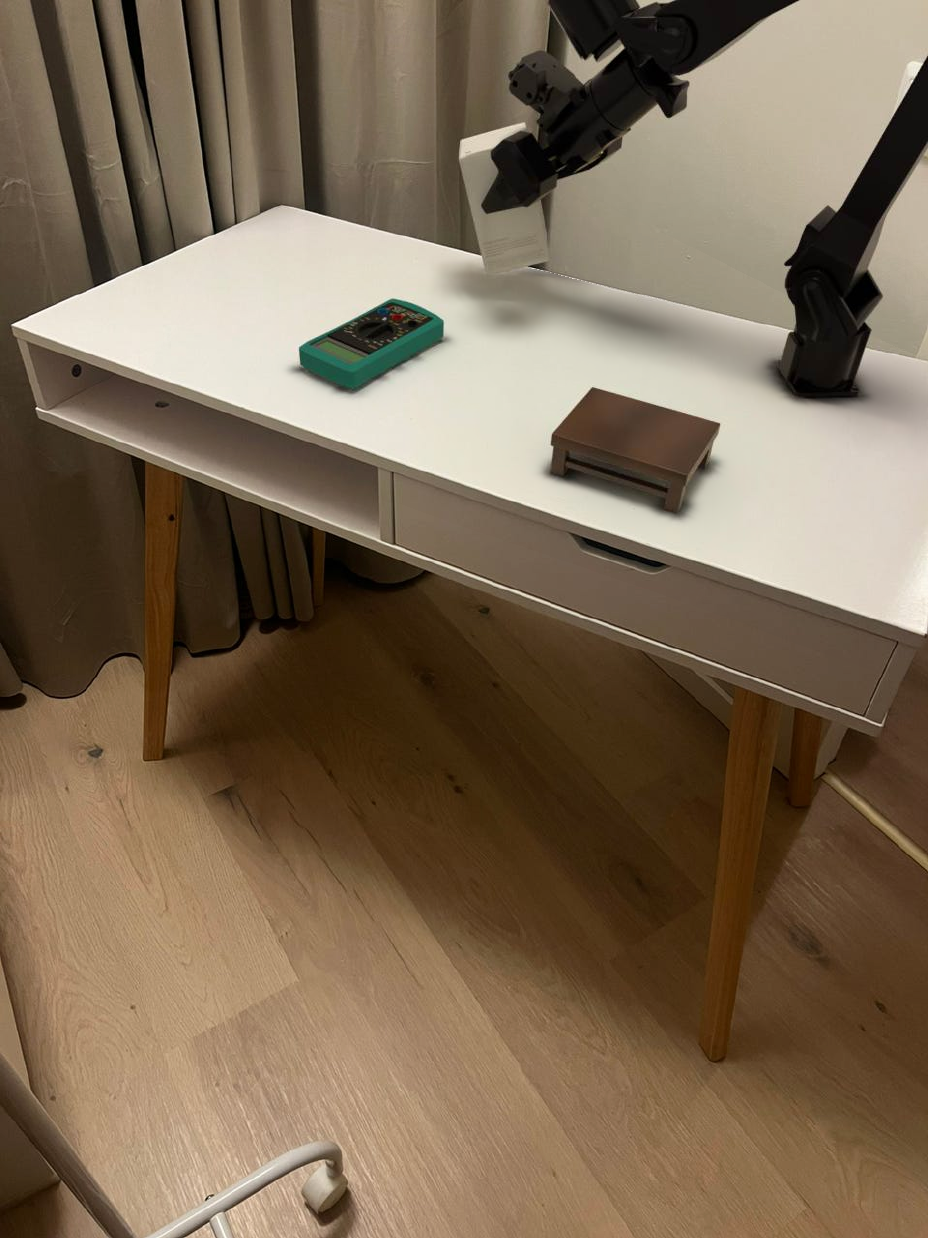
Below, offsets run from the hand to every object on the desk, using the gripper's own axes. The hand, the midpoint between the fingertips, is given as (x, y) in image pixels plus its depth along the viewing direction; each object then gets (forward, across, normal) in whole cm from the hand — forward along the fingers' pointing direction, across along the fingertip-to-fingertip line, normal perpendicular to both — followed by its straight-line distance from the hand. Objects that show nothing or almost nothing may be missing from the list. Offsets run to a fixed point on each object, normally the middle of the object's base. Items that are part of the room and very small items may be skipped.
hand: (507, 196), depth 106 cm
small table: (-13, +25, +27) cm, 39 cm away
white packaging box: (+4, 0, +6) cm, 7 cm away
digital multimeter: (+9, +22, +6) cm, 24 cm away
